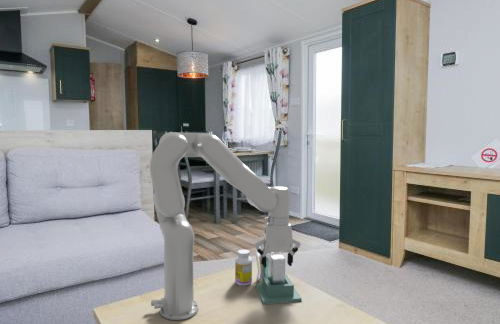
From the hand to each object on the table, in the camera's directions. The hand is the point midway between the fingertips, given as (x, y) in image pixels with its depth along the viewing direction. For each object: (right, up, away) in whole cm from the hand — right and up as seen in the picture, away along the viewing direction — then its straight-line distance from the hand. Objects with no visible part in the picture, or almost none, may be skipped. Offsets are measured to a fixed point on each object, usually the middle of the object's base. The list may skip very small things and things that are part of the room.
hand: (276, 265), depth 133 cm
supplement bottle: (-13, -10, +10) cm, 19 cm away
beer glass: (-4, -10, +14) cm, 17 cm away
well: (0, -11, +1) cm, 11 cm away
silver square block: (0, -10, +1) cm, 10 cm away
